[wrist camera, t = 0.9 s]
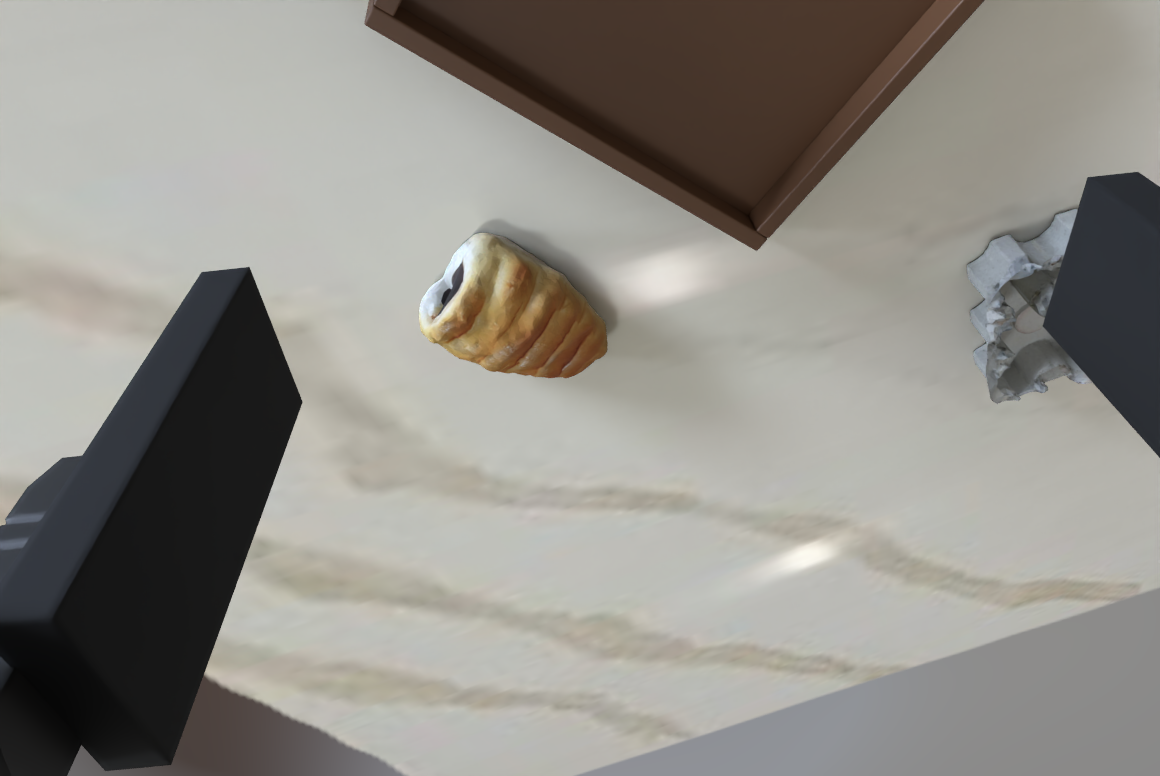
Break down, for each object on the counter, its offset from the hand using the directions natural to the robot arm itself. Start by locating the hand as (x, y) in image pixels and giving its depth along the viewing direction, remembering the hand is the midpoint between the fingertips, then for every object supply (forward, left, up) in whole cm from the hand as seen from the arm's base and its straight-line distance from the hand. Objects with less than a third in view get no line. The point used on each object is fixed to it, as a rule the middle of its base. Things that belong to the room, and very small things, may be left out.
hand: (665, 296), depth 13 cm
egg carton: (+1, +33, -23) cm, 40 cm away
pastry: (+15, +8, -23) cm, 29 cm away
